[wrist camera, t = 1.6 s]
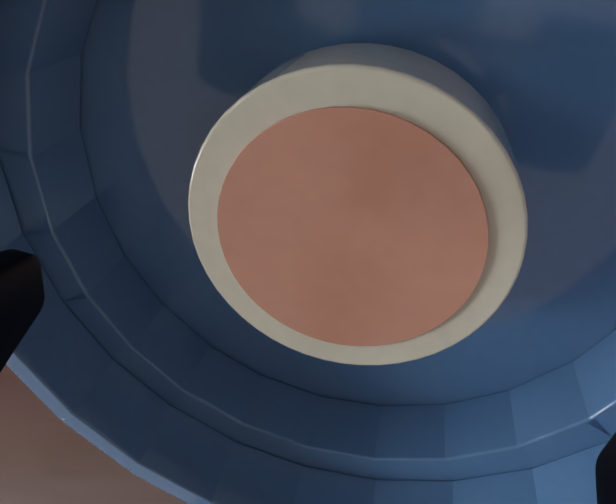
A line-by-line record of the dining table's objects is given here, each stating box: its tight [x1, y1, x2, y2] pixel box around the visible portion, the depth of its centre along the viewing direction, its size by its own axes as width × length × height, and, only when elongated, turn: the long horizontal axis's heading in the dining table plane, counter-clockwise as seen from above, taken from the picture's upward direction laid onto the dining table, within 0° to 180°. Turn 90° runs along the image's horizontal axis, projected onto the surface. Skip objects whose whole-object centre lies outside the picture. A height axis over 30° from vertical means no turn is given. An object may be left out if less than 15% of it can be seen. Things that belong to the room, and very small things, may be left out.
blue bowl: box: [0, 0, 616, 504], centre depth 11 cm, size 17×17×4 cm
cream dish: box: [188, 43, 528, 365], centre depth 12 cm, size 7×7×3 cm
